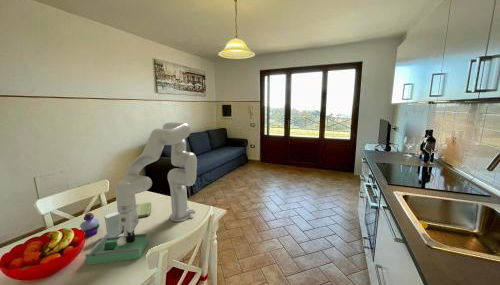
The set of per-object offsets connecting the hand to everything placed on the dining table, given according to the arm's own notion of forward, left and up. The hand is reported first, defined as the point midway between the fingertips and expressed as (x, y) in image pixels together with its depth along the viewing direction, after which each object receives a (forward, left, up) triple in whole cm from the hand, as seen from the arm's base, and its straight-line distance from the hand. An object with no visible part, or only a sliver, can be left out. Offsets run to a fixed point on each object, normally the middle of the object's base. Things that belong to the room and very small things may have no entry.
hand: (131, 241), depth 100 cm
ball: (+4, 0, +1) cm, 4 cm away
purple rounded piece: (+28, -19, -5) cm, 34 cm away
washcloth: (+9, -40, -6) cm, 42 cm away
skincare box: (+15, -16, -5) cm, 22 cm away
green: (+6, 0, -5) cm, 8 cm away
